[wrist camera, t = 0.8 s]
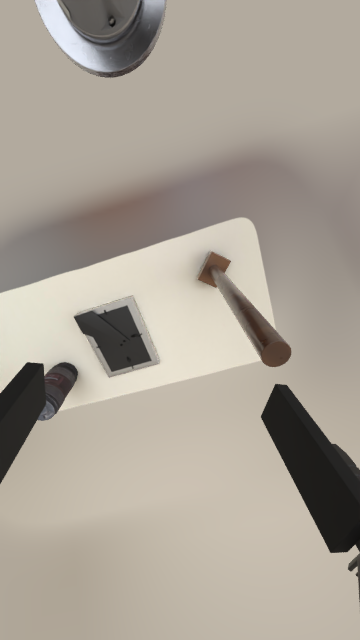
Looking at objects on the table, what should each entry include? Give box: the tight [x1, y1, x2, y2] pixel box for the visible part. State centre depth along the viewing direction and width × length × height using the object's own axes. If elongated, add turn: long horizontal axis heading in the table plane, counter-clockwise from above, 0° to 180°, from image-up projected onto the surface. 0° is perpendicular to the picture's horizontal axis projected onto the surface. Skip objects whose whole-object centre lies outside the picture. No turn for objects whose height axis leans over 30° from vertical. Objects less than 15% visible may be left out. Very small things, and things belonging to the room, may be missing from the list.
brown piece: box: [197, 251, 291, 367], centre depth 38 cm, size 7×5×40 cm
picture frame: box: [74, 295, 160, 377], centre depth 63 cm, size 16×3×21 cm
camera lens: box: [37, 363, 78, 421], centre depth 61 cm, size 8×8×15 cm
